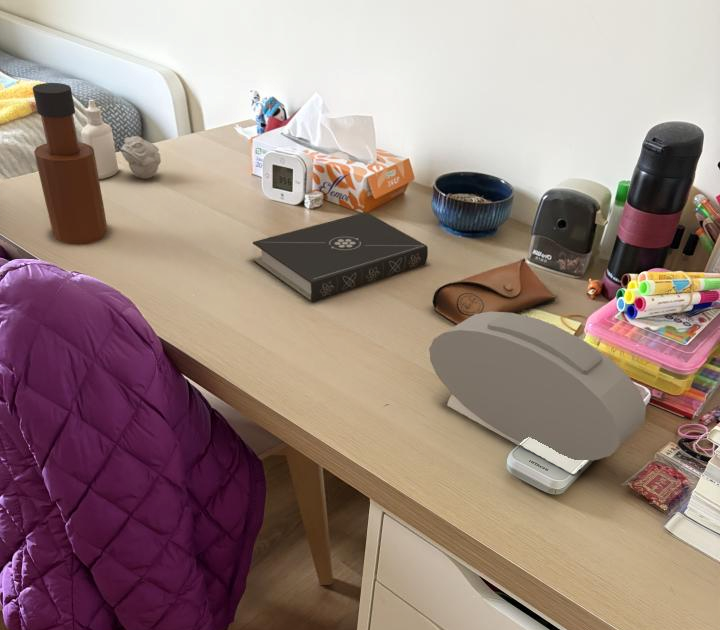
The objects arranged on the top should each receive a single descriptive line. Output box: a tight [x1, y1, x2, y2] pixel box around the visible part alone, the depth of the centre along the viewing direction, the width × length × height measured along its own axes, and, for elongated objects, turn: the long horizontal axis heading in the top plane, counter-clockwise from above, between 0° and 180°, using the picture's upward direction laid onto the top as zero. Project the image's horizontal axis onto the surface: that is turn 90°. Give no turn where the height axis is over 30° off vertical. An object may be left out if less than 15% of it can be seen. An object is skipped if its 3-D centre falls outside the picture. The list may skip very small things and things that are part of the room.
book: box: [252, 211, 429, 303], centre depth 106 cm, size 22×15×3 cm
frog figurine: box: [120, 135, 162, 179], centre depth 124 cm, size 6×7×7 cm
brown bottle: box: [33, 114, 108, 245], centre depth 103 cm, size 8×8×17 cm
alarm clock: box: [428, 311, 647, 461], centre depth 76 cm, size 23×6×13 cm, turn 48°
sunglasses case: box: [432, 257, 558, 326], centre depth 100 cm, size 18×7×7 cm
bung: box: [32, 82, 76, 118], centre depth 97 cm, size 5×5×6 cm
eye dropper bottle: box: [80, 99, 119, 180], centre depth 122 cm, size 4×6×12 cm
